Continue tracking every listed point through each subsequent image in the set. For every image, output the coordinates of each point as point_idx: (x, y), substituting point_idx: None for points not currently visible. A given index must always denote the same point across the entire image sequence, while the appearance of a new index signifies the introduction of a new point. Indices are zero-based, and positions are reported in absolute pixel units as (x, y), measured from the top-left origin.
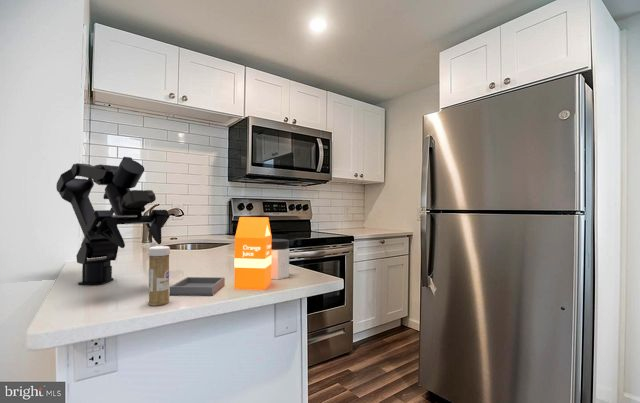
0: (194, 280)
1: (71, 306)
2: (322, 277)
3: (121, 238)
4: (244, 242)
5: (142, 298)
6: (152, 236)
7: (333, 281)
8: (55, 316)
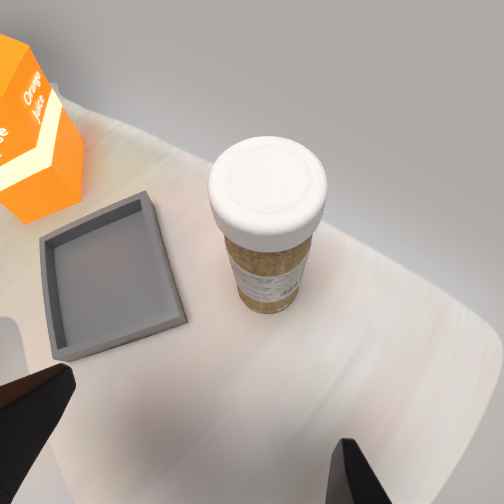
0: (59, 329)
1: (392, 485)
2: None
3: (362, 482)
4: (17, 90)
5: (248, 379)
6: (26, 472)
7: None
8: (453, 425)
